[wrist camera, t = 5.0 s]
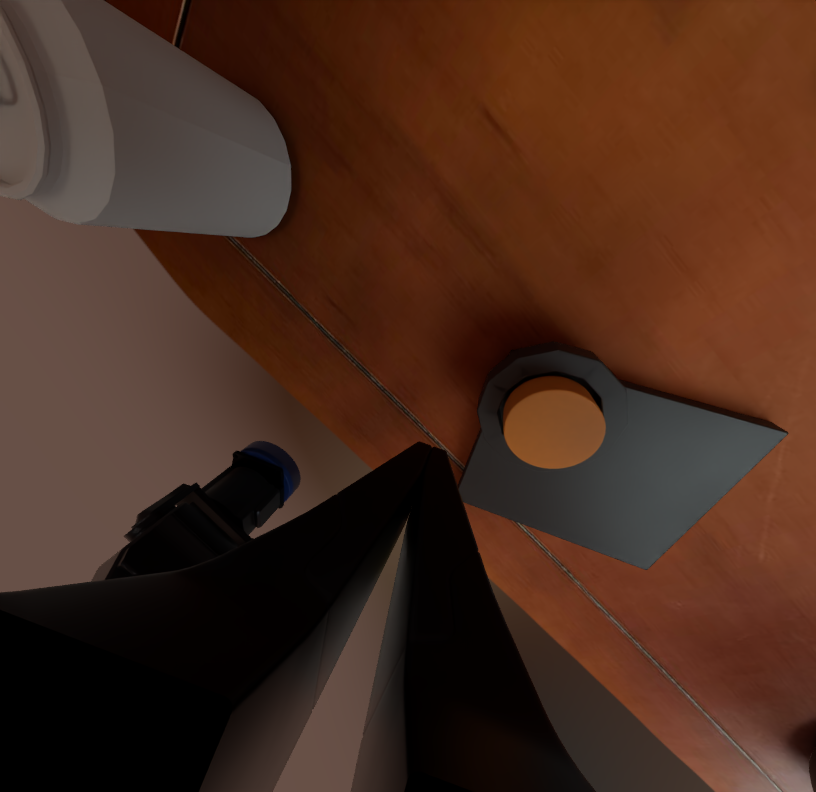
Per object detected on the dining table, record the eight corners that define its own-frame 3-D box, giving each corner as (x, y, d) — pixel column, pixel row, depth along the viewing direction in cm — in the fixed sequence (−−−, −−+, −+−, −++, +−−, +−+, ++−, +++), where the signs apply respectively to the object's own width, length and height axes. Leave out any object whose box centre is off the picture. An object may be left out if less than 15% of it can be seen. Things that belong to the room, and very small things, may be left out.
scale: (445, 485, 25) (439, 511, 23) (504, 323, 18) (505, 334, 16) (640, 556, 23) (658, 594, 20) (792, 400, 16) (850, 428, 13)
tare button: (492, 433, 19) (490, 451, 17) (521, 364, 17) (523, 377, 15) (570, 459, 18) (577, 481, 16) (612, 390, 16) (626, 407, 14)
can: (187, 101, 18) (-235, -107, 8) (290, 87, 16) (-79, -209, 6) (219, 237, 21) (-47, 220, 11) (307, 238, 20) (89, 218, 9)
